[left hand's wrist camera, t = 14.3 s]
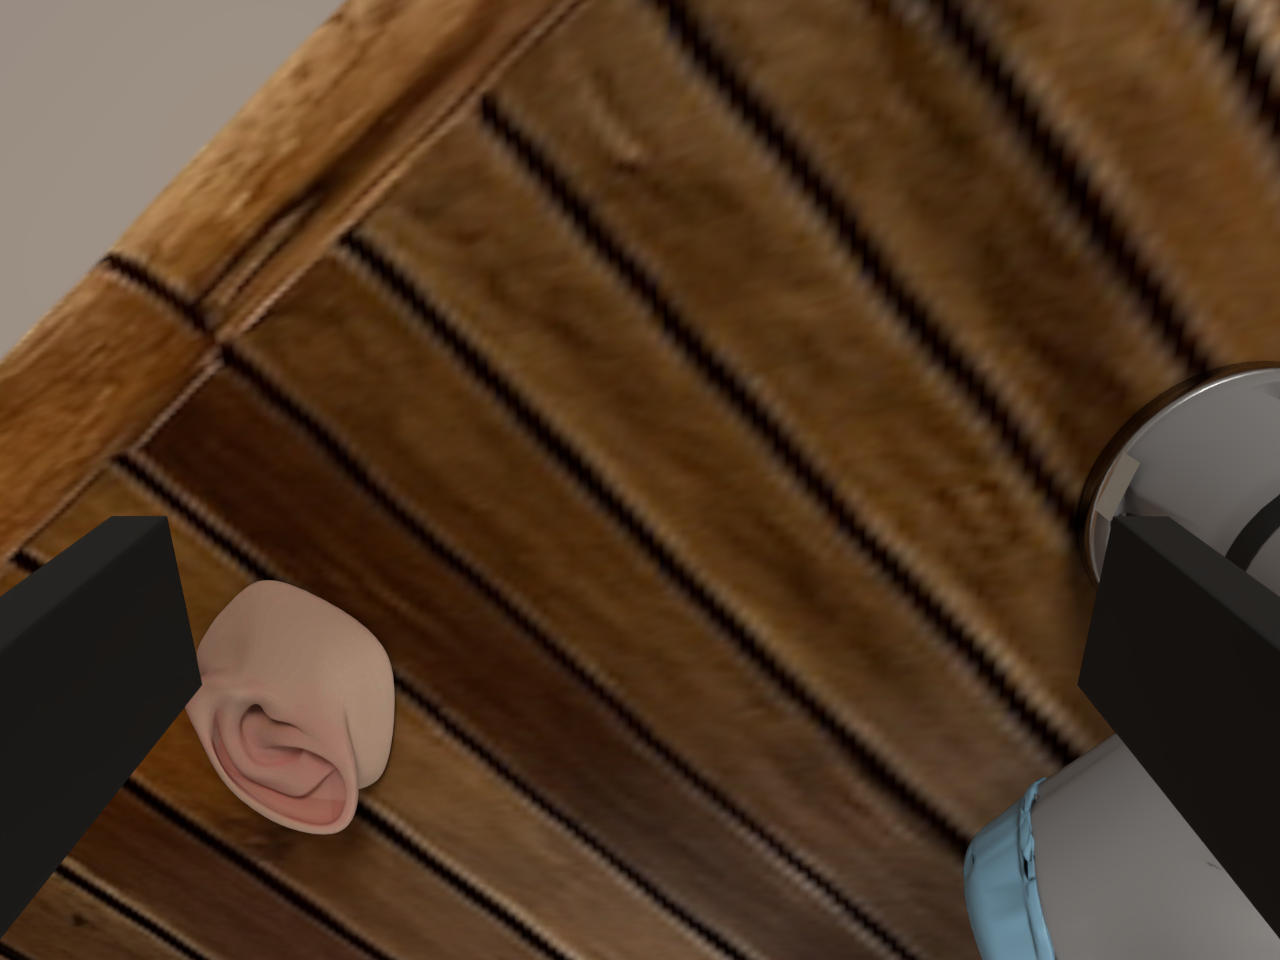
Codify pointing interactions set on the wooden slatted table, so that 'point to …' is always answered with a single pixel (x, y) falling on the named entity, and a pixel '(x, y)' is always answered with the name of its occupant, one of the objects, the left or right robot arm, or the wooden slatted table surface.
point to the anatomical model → (294, 706)
